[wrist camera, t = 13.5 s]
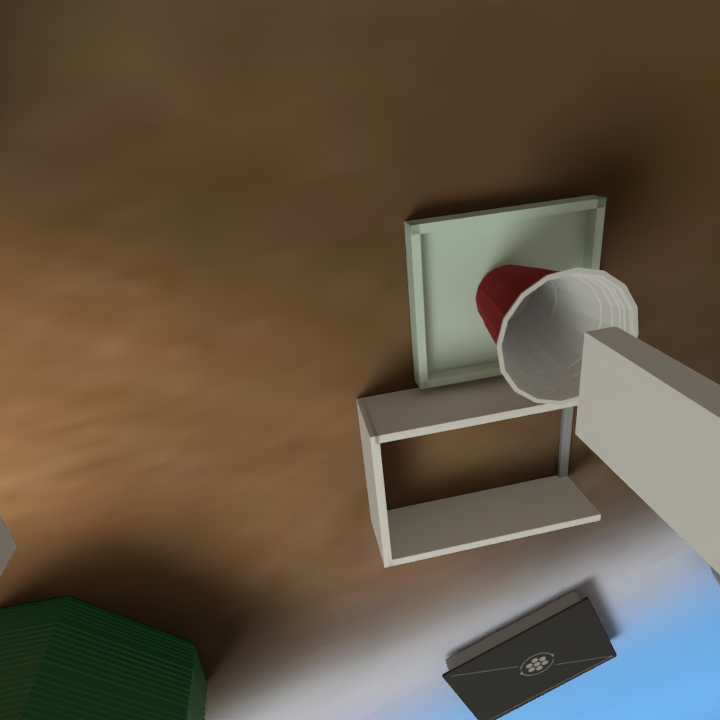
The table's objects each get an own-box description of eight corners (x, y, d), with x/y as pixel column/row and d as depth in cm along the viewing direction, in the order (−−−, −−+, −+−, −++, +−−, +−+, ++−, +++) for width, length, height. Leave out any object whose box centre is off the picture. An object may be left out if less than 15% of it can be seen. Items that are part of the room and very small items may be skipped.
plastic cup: (475, 219, 45) (543, 249, 34) (575, 255, 48) (666, 293, 38) (428, 331, 49) (477, 389, 38) (524, 358, 52) (594, 419, 41)
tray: (414, 380, 51) (420, 389, 50) (404, 221, 45) (410, 225, 43) (579, 351, 53) (590, 358, 52) (593, 194, 47) (606, 197, 45)
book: (475, 706, 77) (483, 727, 74) (435, 655, 71) (442, 676, 68) (605, 637, 76) (618, 656, 73) (576, 579, 69) (588, 598, 67)
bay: (371, 519, 58) (384, 567, 52) (356, 398, 51) (370, 437, 45) (564, 479, 60) (600, 520, 54) (574, 359, 54) (616, 390, 48)
